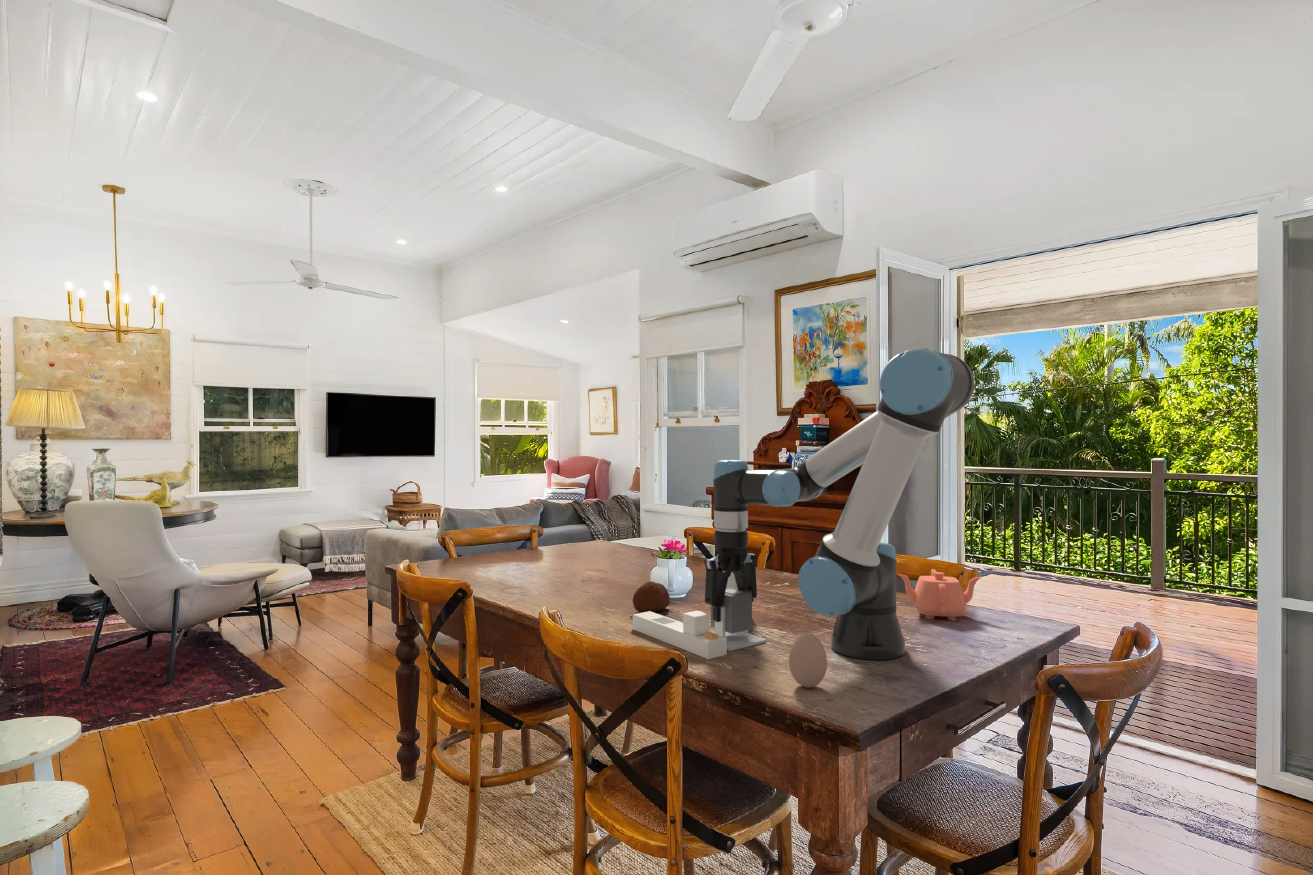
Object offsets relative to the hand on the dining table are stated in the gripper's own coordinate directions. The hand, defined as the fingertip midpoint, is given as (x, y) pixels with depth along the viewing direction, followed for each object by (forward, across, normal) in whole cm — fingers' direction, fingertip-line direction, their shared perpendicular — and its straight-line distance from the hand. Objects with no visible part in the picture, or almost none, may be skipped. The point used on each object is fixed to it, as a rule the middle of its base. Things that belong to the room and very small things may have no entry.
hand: (731, 632), depth 158 cm
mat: (+2, 0, 0) cm, 2 cm away
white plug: (-2, +10, 0) cm, 10 cm away
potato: (+2, -1, -32) cm, 32 cm away
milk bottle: (+2, -14, -14) cm, 20 cm away
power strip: (+2, +10, -7) cm, 12 cm away
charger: (-1, 0, 0) cm, 1 cm away
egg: (+2, +8, +30) cm, 31 cm away
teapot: (+2, -57, +14) cm, 59 cm away
